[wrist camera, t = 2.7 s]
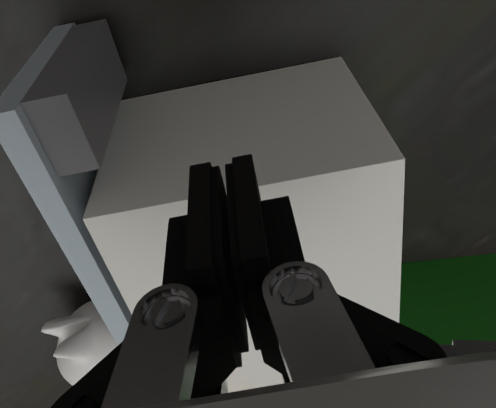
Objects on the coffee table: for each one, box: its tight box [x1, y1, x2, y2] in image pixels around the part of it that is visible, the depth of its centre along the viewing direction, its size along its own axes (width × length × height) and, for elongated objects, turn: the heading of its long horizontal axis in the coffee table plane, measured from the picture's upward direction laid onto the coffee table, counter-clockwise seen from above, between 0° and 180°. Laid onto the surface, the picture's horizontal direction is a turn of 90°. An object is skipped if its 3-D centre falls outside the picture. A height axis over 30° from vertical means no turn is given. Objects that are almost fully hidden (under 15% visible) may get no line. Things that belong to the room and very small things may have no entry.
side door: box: [0, 19, 132, 345], centre depth 24 cm, size 16×3×9 cm, turn 10°
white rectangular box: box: [83, 57, 405, 393], centre depth 28 cm, size 22×12×11 cm, turn 10°
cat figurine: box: [41, 301, 118, 385], centre depth 35 cm, size 9×11×12 cm
